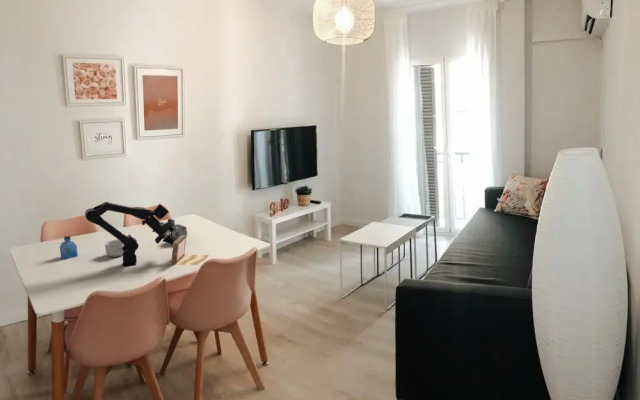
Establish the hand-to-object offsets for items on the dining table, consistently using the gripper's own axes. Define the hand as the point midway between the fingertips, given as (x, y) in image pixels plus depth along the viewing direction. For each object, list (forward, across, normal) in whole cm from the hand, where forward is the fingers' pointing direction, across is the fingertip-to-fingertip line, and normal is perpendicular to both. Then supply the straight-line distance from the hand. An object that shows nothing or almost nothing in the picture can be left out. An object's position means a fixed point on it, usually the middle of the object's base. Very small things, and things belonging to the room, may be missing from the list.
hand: (176, 244), depth 268 cm
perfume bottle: (-39, +5, +52) cm, 65 cm away
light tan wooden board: (+11, +1, +2) cm, 11 cm away
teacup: (-21, +10, +34) cm, 41 cm away
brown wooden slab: (+6, 0, +6) cm, 9 cm away
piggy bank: (-1, +35, +14) cm, 37 cm away
